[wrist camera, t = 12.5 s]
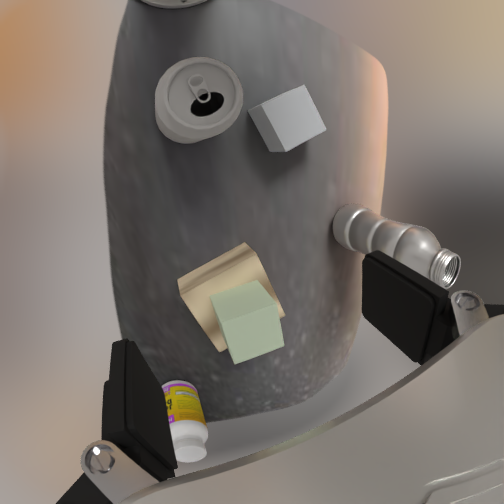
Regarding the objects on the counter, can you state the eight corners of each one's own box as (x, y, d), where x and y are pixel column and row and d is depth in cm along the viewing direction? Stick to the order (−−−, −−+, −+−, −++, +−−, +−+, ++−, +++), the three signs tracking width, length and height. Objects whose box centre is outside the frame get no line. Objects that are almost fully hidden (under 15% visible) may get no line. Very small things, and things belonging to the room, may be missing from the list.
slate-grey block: (246, 110, 32) (260, 104, 28) (286, 91, 33) (304, 84, 29) (269, 151, 35) (286, 152, 31) (306, 131, 36) (326, 129, 31)
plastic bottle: (364, 203, 42) (473, 240, 24) (356, 245, 44) (455, 299, 26) (330, 198, 40) (445, 238, 22) (322, 243, 42) (425, 305, 24)
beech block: (176, 278, 37) (180, 295, 32) (244, 241, 38) (256, 253, 34) (211, 331, 41) (219, 352, 37) (271, 298, 42) (285, 315, 38)
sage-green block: (209, 295, 33) (220, 322, 28) (257, 279, 35) (276, 303, 29) (221, 334, 36) (234, 364, 30) (265, 319, 37) (284, 345, 32)
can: (174, 156, 32) (183, 155, 21) (144, 103, 28) (138, 76, 18) (229, 125, 32) (265, 112, 22) (200, 73, 29) (223, 37, 18)
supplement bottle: (165, 373, 41) (175, 439, 29) (203, 383, 43) (222, 445, 32) (152, 400, 41) (159, 462, 30) (187, 408, 44) (202, 467, 33)
